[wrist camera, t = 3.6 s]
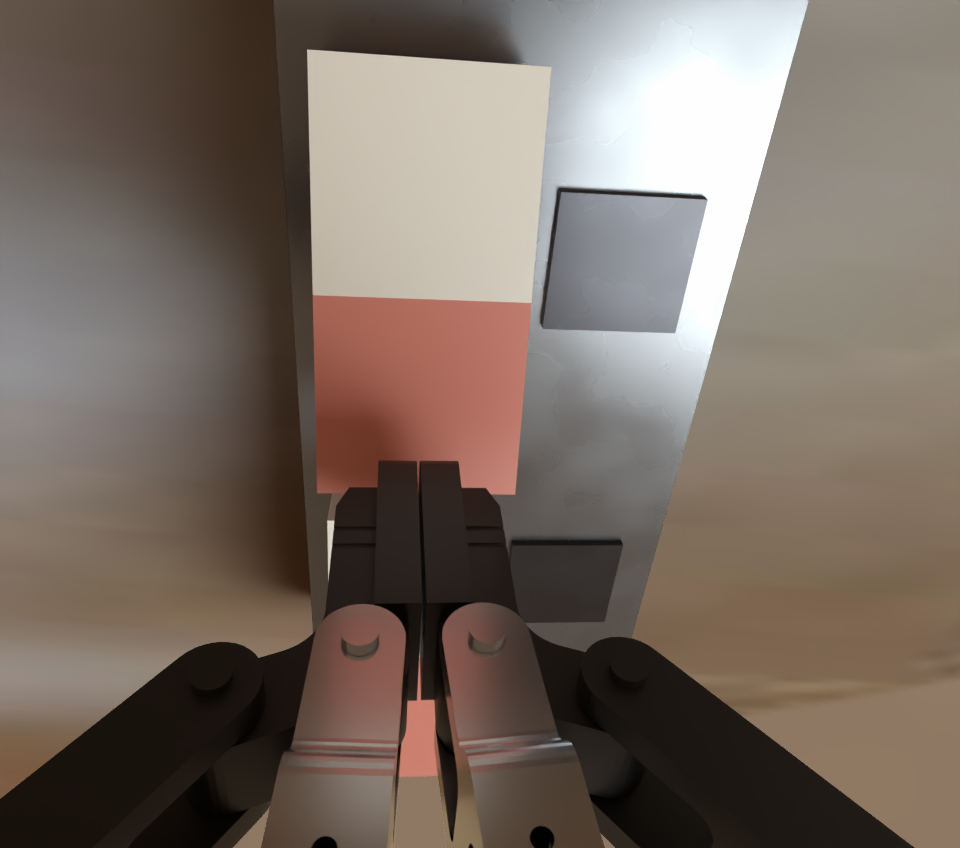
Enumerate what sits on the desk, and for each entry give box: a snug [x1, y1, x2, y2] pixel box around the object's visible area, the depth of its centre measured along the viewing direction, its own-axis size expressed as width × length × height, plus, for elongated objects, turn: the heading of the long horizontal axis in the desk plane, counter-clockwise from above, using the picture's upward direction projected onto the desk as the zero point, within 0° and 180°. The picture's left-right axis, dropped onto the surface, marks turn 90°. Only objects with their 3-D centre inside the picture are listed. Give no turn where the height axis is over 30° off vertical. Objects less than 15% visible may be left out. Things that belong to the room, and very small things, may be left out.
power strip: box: [273, 0, 809, 652], centre depth 19 cm, size 10×30×4 cm, turn 175°
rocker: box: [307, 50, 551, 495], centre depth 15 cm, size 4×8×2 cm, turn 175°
